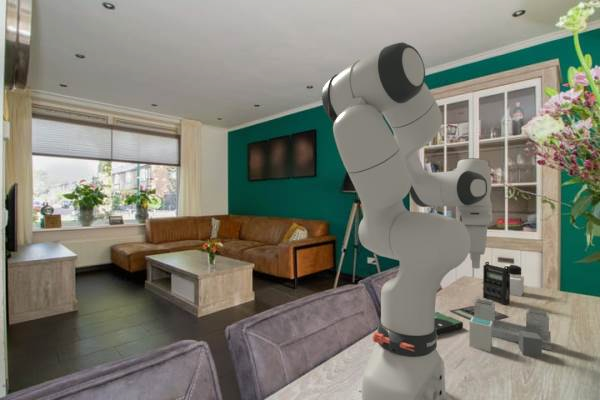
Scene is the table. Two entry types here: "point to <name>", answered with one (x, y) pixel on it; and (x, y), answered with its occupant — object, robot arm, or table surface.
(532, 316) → the rail
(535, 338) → the block
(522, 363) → the table surface
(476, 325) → the block
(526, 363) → the table surface
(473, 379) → the table surface
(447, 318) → the disk drive
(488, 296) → the geiger counter
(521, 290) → the medicine bottle
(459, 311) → the calculator
